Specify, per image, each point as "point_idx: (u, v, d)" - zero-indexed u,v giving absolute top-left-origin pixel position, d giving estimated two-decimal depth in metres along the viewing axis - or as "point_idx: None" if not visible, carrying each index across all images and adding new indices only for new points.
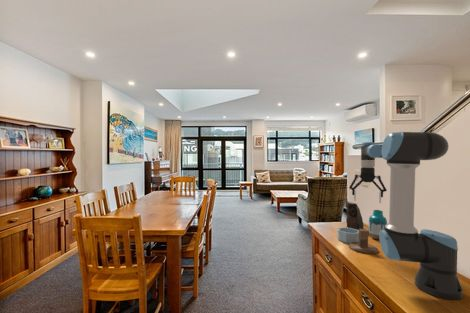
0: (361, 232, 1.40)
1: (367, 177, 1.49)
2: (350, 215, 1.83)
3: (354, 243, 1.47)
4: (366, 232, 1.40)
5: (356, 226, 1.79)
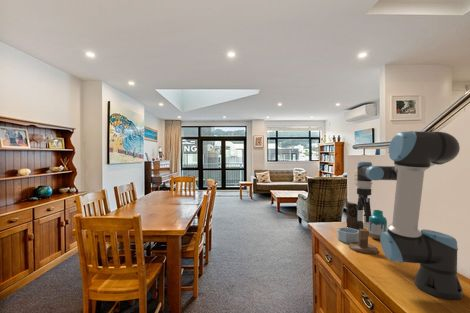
0: (361, 232, 1.40)
1: None
2: (350, 215, 1.83)
3: (354, 243, 1.47)
4: (366, 232, 1.40)
5: (356, 226, 1.79)
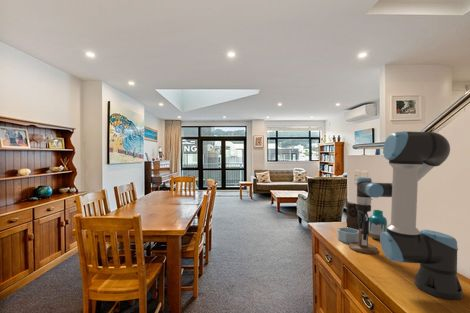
0: (361, 232, 1.40)
1: None
2: (350, 215, 1.83)
3: (354, 243, 1.47)
4: None
5: (356, 226, 1.79)
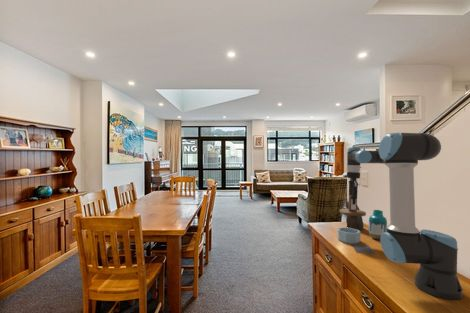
0: (350, 197, 1.52)
1: None
2: None
3: (344, 209, 1.59)
4: None
5: (356, 226, 1.79)
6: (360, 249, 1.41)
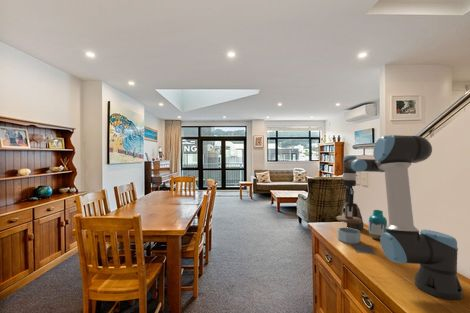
0: None
1: None
2: None
3: (341, 216, 1.62)
4: None
5: (356, 226, 1.79)
6: (360, 249, 1.41)
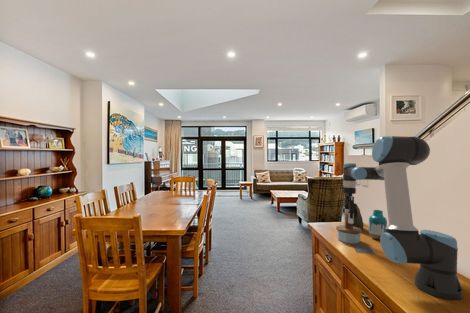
0: (347, 215, 1.55)
1: None
2: None
3: (341, 226, 1.62)
4: None
5: (356, 226, 1.79)
6: (360, 249, 1.41)
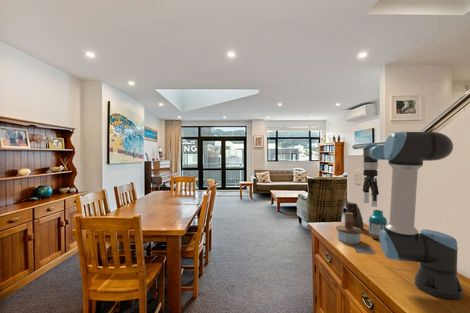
0: (347, 215, 1.55)
1: None
2: None
3: (341, 226, 1.62)
4: (351, 215, 1.54)
5: (356, 226, 1.79)
6: (360, 249, 1.41)
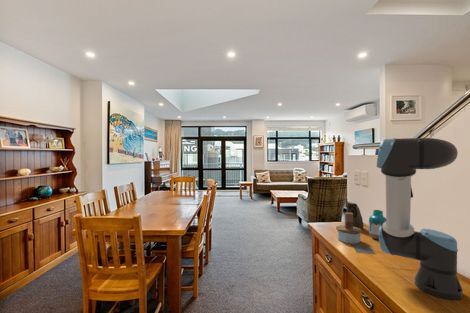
0: (347, 215, 1.55)
1: None
2: None
3: (341, 226, 1.62)
4: (351, 215, 1.54)
5: (356, 226, 1.79)
6: (360, 249, 1.41)
